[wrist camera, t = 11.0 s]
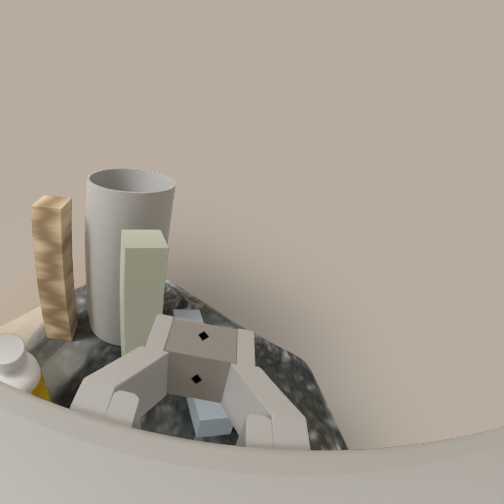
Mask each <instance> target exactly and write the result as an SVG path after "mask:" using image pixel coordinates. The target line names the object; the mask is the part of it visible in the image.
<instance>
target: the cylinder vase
mask: <svg viewBox="0 0 504 504" xmlns="http://www.w3.org/2000/svg"><path fill="white" fill-rule="evenodd" d="M175 185H176V183H175V181H174V180H173V179H172V178H170V177H168V176H166V175H163V174H160V173H156V172H152V171H147V170H140V169H130V168H113V169H104V170H99V171H96V172H93V173H91V174H89V175H88V176H87V185H86V209H85V264H86V287H87V302H88V314H89V324H90V327H91V329H92V331H93V332H94V334H95V335H96V336H97V337H98V338H100V339H101V340H103V341H105V342H107V343H109V344H112V345H116V346H121V333H120V254H121V232H122V230H161V232H162V234H163V236H164V239H165V241H166V243H167V245H168V236H169V227H170V220H171V213H172V206H173V198H174V192H175Z"/></svg>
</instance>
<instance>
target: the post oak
mask: <svg viewBox="0 0 504 504" xmlns="http://www.w3.org/2000/svg"><path fill="white" fill-rule="evenodd" d="M71 212H72V198H67V197H57V196H46V195H45V196H43V197H41V198H40V199H39V200H38V201H37V202H36V203H34V204H33V205H32V206H31V214H32V233H33V246H34V257H35V266H36V275H37V282H38V290H39V296H40V303H41V309H42V314H43V320H44V325H45V330H46V334H47V338H52V339H58V340H64V341H70V342H72V340H73V337H74V334H75V331H76V328H77V326H78V320H77V312H76V302H75V291H74V278H73V261H72V229H71V228H72V223H71V222H72V220H71V219H72V213H71Z"/></svg>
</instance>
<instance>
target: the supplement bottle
mask: <svg viewBox="0 0 504 504" xmlns="http://www.w3.org/2000/svg"><path fill="white" fill-rule="evenodd" d="M0 381H2V382H4V383H6V384H8V385H11V386H13V387H15V388H17V389H20V390H22V391H24V392H27V393H29V394H31V395H34V396H36V397H39V398H41V399H44V400H46V401H49V402H51V399H50V396H49V393H48V390H47V388H46V385H45V382H44V379H43V376H42V373H41V370H40V367H39V364H38V362H37V360H36V359H35V357H34V356H33V355H32V354H30V353H29V352H27V351H26V347H25V344H24V342H23V340H22V339H21V338H20V337H19V336H17V335H14V334H9V333H6V334H1V335H0Z"/></svg>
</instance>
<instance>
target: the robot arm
mask: <svg viewBox="0 0 504 504" xmlns="http://www.w3.org/2000/svg"><path fill="white" fill-rule="evenodd" d="M166 394H172V395H178V396H184V397H190V398H196V399H201V400H206V401H212V402H217V403H221V406H222V408H223V409H224V411H225V413H226V414H227V416H228V418H229V419H230V421H231V423H232V425H233V426H234V428H235V430H236V431H237V433H238V434H239V437H238V440H237V443H236V445H235V446H232V445H224V444H216V443H209V442H202V441H196V440H190V439H184V438H178V437H173V436H168V435H163V434H158V433H154V432H149V431H145V430H141V423H140V418H141V417H142V416H143V415H144V414H146V413H147V412H148V411H149V410H150V409H151V408H152V407H153V406H154V405H156V404H157V403H158V402H159V401H160V400H161V399H162V398H163V397H165V396H166ZM0 504H504V426H503V427H500V428H496V429H493V430H489V431H485V432H480V433H476V434H472V435H467V436H462V437H457V438H452V439H447V440H441V441H435V442H429V443H422V444H415V445H406V446H397V447H387V448H375V449H359V450H310V443H309V437H308V431H307V424H306V418H305V417H304V416H303V415H302V414H301V412H300V411H299V410H298V409H297V408H296V407H295V406H294V405H293V404H292V403H291V402H290V400H289V399H288V398H287V397H286V396H285V395H284V394H283V393H282V392H281V391H280V389H279V388H278V387H277V386H276V385H275V384H274V383H273V382H272V380H271V379H270V378H269V377H268V376H267V375H266V374H265V372H264V371H263V370H262V369H261V368H260V367H255V345H254V332H253V331H252V330H245V329H234V328H228V327H222V326H216V325H211V324H206V323H201V322H196V321H192V320H187V319H182V318H178V317H173V316H168V315H163V314H158V315H157V317H156V319H155V322H154V324H153V327H152V330H151V333H150V335H149V338H148V341H147V343H146V346H145V347H144V346H140V347H138V348H136V349H134V350H133V351H131V352H129V353H127V354H126V355H124V356H122V357H120V358H119V359H117V360H115V361H113V362H112V363H110V364H108V365H106V366H105V367H103V368H101V369H99V370H98V371H96V372H94V373H92V374H90V375H89V376H87V377H85V378H83V381H82V383H81V385H80V387H79V389H78V391H77V393H76V395H75V397H74V400H73V402H72V404H71V406H70V408H69V409H68V408H65V407H63V406H60V405H57V404H54V403H52V402H49V401H46V400H44V399H41V398H39V397H36V396H34V395H31V394H29V393H27V392H24V391H22V390H20V389H17V388H15V387H13V386H11V385H8V384H6V383H4V382H2V381H0Z"/></svg>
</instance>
